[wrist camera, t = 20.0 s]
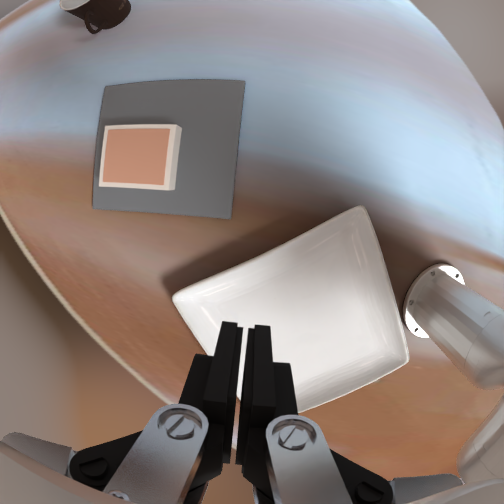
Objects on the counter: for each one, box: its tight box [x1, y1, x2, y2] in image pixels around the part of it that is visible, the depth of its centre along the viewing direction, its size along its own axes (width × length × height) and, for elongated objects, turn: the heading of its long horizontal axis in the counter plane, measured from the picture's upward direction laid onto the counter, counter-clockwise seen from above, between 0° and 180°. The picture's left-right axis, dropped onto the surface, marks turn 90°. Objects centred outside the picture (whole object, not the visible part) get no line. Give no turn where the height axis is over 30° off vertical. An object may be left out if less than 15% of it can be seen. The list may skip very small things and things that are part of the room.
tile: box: [99, 124, 182, 191], centre depth 32 cm, size 3×8×10 cm
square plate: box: [172, 205, 409, 413], centre depth 38 cm, size 27×27×4 cm
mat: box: [93, 79, 245, 219], centre depth 33 cm, size 20×18×1 cm
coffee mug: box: [60, 0, 131, 34], centre depth 23 cm, size 12×9×10 cm
